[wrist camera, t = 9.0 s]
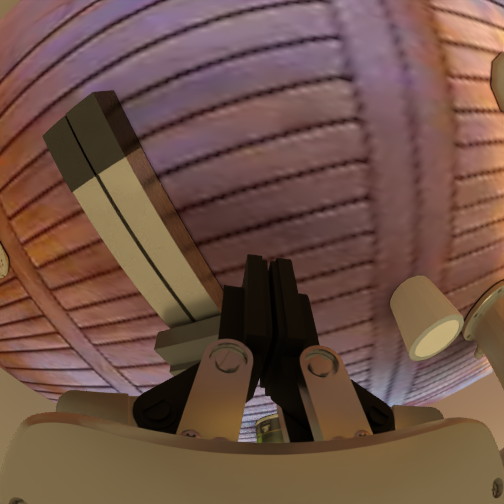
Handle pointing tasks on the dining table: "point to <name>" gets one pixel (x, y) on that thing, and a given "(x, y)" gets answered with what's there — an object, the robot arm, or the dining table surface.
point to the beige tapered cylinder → (424, 317)
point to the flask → (498, 80)
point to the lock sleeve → (186, 343)
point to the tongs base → (113, 224)
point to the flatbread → (3, 262)
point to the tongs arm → (144, 201)
